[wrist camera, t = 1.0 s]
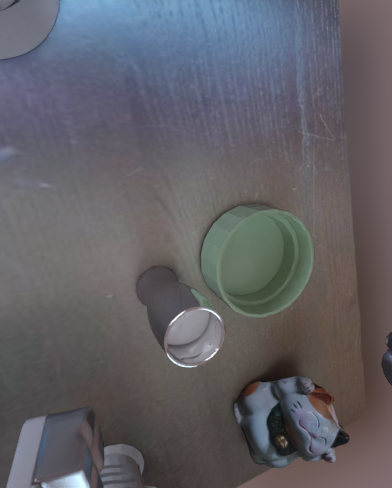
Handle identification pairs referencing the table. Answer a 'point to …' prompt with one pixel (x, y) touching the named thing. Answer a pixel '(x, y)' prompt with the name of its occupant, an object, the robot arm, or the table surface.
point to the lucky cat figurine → (289, 422)
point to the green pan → (257, 259)
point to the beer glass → (180, 317)
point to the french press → (122, 467)
